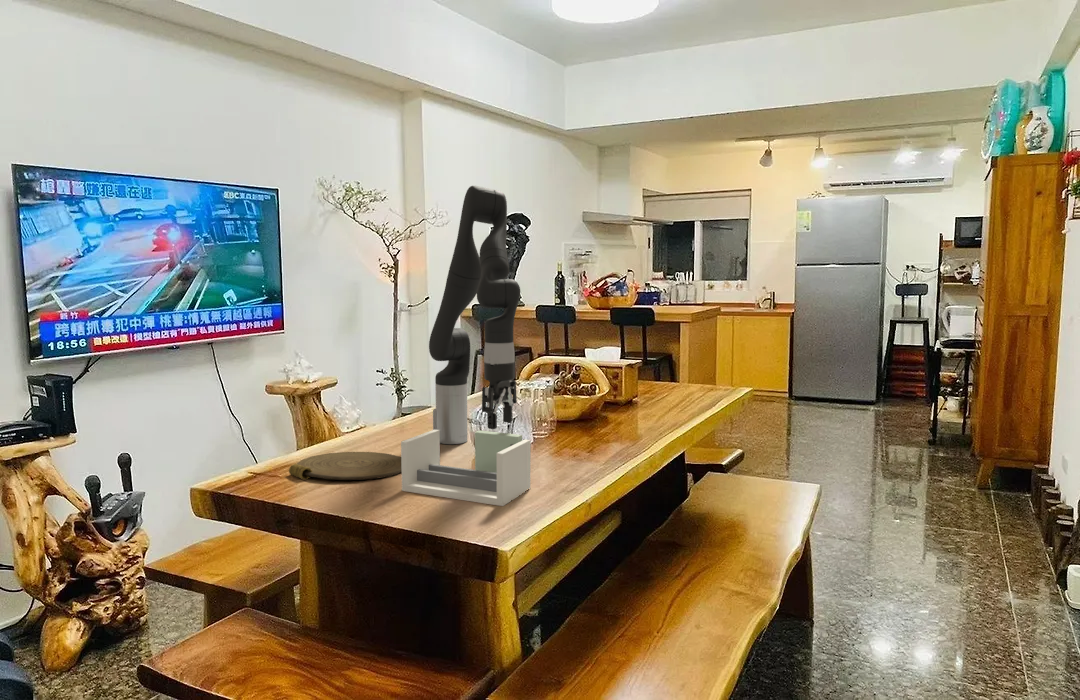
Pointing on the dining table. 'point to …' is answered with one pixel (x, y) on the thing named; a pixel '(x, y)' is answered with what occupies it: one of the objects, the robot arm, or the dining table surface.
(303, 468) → the decorative disc
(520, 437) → the door panel
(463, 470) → the grey u-shaped open holder
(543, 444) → the dining table surface
